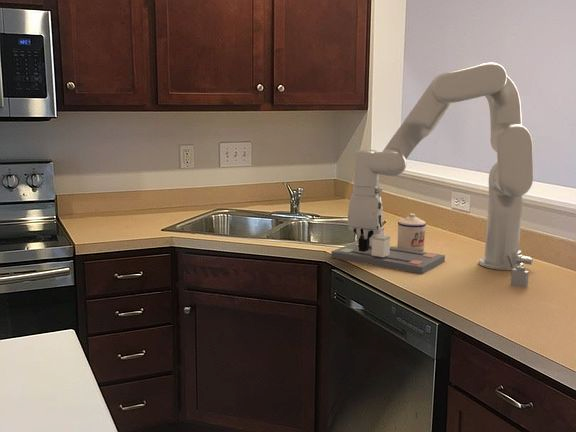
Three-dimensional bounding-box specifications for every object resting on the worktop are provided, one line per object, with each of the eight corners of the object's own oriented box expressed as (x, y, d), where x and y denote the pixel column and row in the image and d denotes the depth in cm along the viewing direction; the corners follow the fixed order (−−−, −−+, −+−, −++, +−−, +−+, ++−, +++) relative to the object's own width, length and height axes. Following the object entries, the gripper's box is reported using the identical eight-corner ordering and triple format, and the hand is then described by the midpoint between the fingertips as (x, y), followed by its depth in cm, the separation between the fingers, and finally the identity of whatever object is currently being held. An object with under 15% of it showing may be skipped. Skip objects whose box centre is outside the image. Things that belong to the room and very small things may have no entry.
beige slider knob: (389, 254, 197) (390, 236, 196) (383, 257, 194) (384, 238, 192) (377, 252, 199) (378, 234, 198) (371, 255, 196) (372, 237, 195)
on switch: (383, 245, 209) (384, 228, 208) (377, 247, 206) (378, 230, 204) (372, 243, 211) (372, 226, 210) (366, 245, 208) (366, 228, 207)
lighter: (527, 286, 175) (530, 257, 174) (525, 288, 174) (527, 259, 172) (502, 281, 180) (504, 253, 178) (499, 282, 178) (501, 254, 177)
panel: (444, 261, 199) (445, 254, 199) (422, 274, 186) (422, 266, 185) (357, 247, 216) (357, 240, 216) (331, 257, 202) (331, 250, 202)
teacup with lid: (414, 253, 209) (415, 217, 207) (390, 248, 215) (392, 213, 213) (435, 247, 217) (437, 213, 215) (412, 242, 223) (413, 209, 221)
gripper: (393, 192, 195) (391, 252, 198) (350, 187, 203) (348, 245, 207) (382, 195, 189) (380, 257, 192) (337, 190, 197) (336, 249, 201)
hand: (363, 250), depth 199 cm, fingers closed
